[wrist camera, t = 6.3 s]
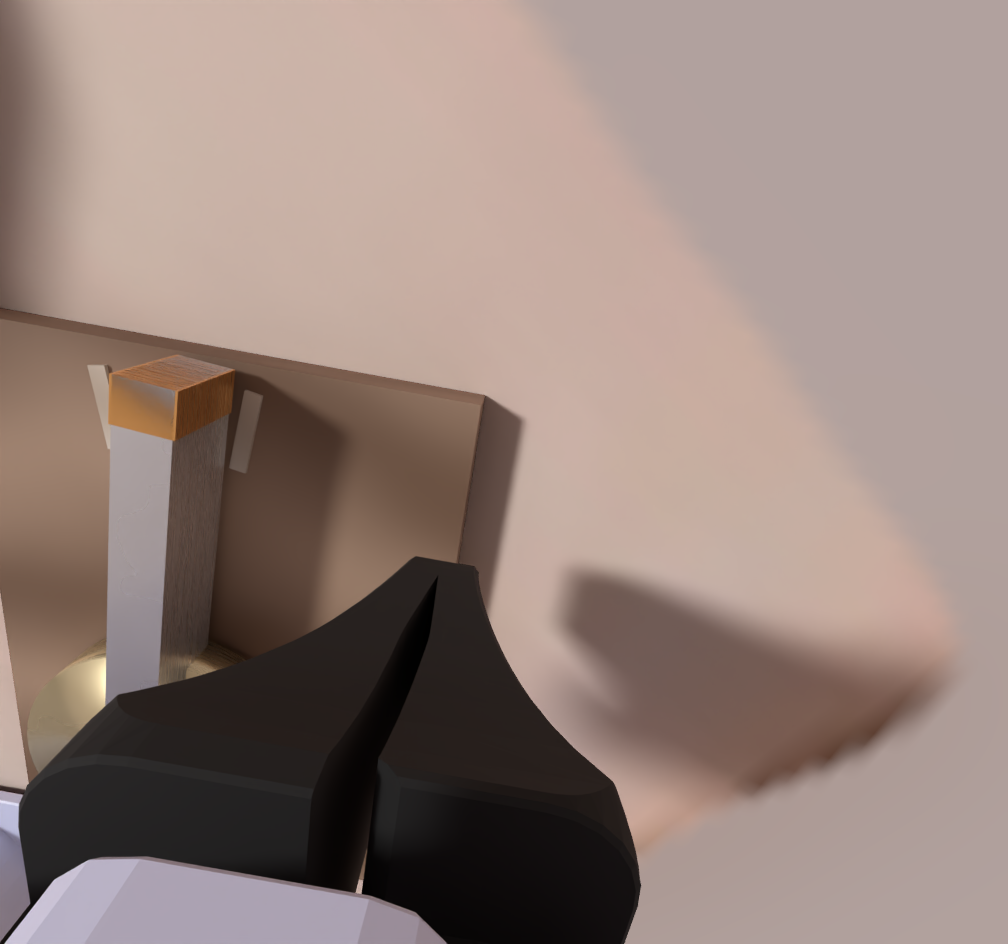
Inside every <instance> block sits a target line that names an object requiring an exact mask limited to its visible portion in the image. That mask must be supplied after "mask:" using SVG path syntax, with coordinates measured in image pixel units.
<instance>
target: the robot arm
mask: <svg viewBox="0 0 1008 944" xmlns="http://www.w3.org/2000/svg"><path fill="white" fill-rule="evenodd" d="M478 573H479V572H478V571H477V570H476V568H475V567H474V566H469V565H463V564H458V563H452V562H447V561H441V560H435V559H430V558H424V557H419V556H415V557H413V558H412V559H410V560H409V561H408V562H407V563H406V564H404V565H403V566H402V567H401V568H400V569H399V570H398V571H397V572H395V573H394V574H393V575H392V576H391V577H390V578H388V579H387V580H386V581H385V582H384V583H382V584H381V585H380V586H379V587H377V588H376V589H375V590H373V591H372V592H371V593H370V594H368V595H367V596H366V597H364V598H363V599H362V600H360V601H359V602H358V603H356V604H355V605H353V606H352V607H350V608H349V609H347V610H346V611H344V612H343V613H341V614H340V615H338V616H337V617H335V618H334V619H332V620H331V621H329V622H327V623H326V624H324V625H322V626H321V627H319V628H317V629H315V630H313V631H311V632H309V633H308V634H306V635H304V636H302V637H300V638H298V639H296V640H294V641H292V642H289V643H287V644H285V645H282V646H280V647H277V648H275V649H273V650H270V651H268V652H266V653H263V654H261V655H258V656H256V657H254V658H251V659H249V660H246V661H243V662H240V663H237V664H234V665H231V666H228V667H226V668H223V669H219V670H216V671H213V672H209V673H206V674H203V675H200V676H196V677H192V678H189V679H185V680H181V681H177V682H172V683H168V684H164V685H159V686H155V687H151V688H146V689H142V690H137V691H133V692H128V693H123V694H118V695H117V696H116V697H115V698H114V699H113V700H112V701H110V702H109V703H108V704H107V705H106V706H105V707H104V708H103V709H102V710H100V711H99V712H98V713H97V714H96V715H95V716H94V717H93V718H92V719H90V721H89V722H88V723H87V724H86V725H85V726H84V727H83V728H82V729H81V730H80V731H79V732H78V733H77V734H76V735H75V736H74V737H73V738H72V739H71V740H70V741H69V742H68V743H67V744H66V745H65V746H64V747H63V749H62V750H61V751H60V752H59V753H58V754H57V755H56V756H55V757H54V758H53V759H52V760H51V761H50V762H49V763H48V764H47V765H46V766H45V767H44V768H43V769H42V770H41V771H40V773H39V774H38V775H37V776H36V777H35V778H34V779H33V780H32V781H31V782H30V783H29V784H28V785H27V787H26V790H25V792H24V794H23V795H22V794H17V793H11V792H5V791H0V944H624V943H625V940H626V937H627V934H628V932H629V929H630V926H631V923H632V920H633V917H634V915H635V912H636V909H637V907H638V900H639V895H640V888H641V883H640V876H639V867H638V861H637V856H636V851H635V847H634V843H633V839H632V836H631V832H630V829H629V826H628V822H627V819H626V815H625V812H624V809H623V807H622V804H621V801H620V798H619V795H618V792H617V789H616V787H615V784H614V783H613V781H611V780H610V779H609V778H608V777H607V776H606V775H604V774H603V773H602V772H601V771H600V770H599V769H597V768H596V767H595V766H594V765H593V764H592V763H591V762H589V761H588V760H587V759H586V758H585V757H584V756H582V755H581V754H580V753H579V752H578V751H577V750H576V749H574V748H573V747H572V746H571V745H570V744H569V743H568V742H567V740H566V739H565V738H564V737H563V736H562V735H561V734H560V733H559V732H558V731H557V730H556V729H555V728H554V727H553V726H552V725H551V724H550V722H549V721H548V720H547V719H546V718H545V716H544V715H543V714H542V713H541V711H540V710H539V709H538V708H537V706H536V705H535V704H534V703H533V701H532V700H531V699H530V697H529V696H528V694H527V693H526V691H525V690H524V688H523V687H522V685H521V684H520V682H519V681H518V679H517V677H516V676H515V674H514V672H513V671H512V669H511V667H510V665H509V663H508V662H507V660H506V658H505V656H504V654H503V652H502V650H501V648H500V645H499V643H498V641H497V639H496V637H495V634H494V632H493V629H492V627H491V624H490V621H489V618H488V616H487V613H486V610H485V607H484V603H483V600H482V596H481V592H480V587H479V580H478ZM366 850H367V855H366V863H365V871H364V879H363V887H362V894H357V893H355V892H356V888H357V884H358V881H359V877H360V873H361V869H362V865H363V862H364V858H365V854H366Z"/></svg>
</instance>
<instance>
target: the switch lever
mask: <svg viewBox="0 0 1008 944" xmlns="http://www.w3.org/2000/svg"><path fill="white" fill-rule="evenodd" d="M234 378H235V370H234V369H230V368H226V367H223V366H219V365H215V364H211V363H207V362H204V361H200V360H196V359H192V358H188V357H185V356H181V355H174V356H170V357H167V358H163V359H159V360H156V361H152V362H149V363H145V364H142V365H138V366H134V367H131V368H127V369H124V370H120V371H116V372H113V373H109V404H108V424H110V425H111V436H110V488H109V539H108V590H107V638H104V639H102V640H100V641H98V642H96V643H95V644H93V645H92V646H90V647H89V648H87V649H86V650H85V651H84V652H83V653H81V654H80V655H79V656H78V657H77V658H76V659H75V660H73V661H72V662H71V663H70V664H69V665H68V666H66V667H65V668H64V669H63V670H62V671H61V672H60V673H58V674H57V675H56V676H55V677H54V678H53V679H52V680H51V681H50V682H49V683H47V684H46V685H45V686H44V687H43V689H42V690H41V691H40V693H39V694H38V696H37V697H36V699H35V701H34V703H33V705H32V708H31V710H30V714H29V719H28V727H27V737H28V745H29V750H30V754H31V757H32V761H33V763H34V765H35V767H36V770H37V772H38V774H39V773H40V771H41V770H42V769H43V768H44V767H45V766H46V765H47V764H48V763H49V762H50V761H51V760H52V759H53V758H54V757H55V756H56V755H57V754H58V753H59V752H60V751H61V750H62V749H63V747H64V746H65V745H66V744H67V743H68V742H69V741H70V740H71V739H72V738H73V737H74V736H75V735H76V734H77V733H78V732H79V731H80V730H81V729H82V728H83V727H84V726H85V725H86V724H87V723H88V722H89V721H90V719H92V718H93V717H94V716H95V715H96V714H97V713H98V712H99V711H100V710H102V709H103V708H104V707H105V706H106V705H107V704H108V703H109V702H110V701H112V700H113V699H114V698H115V697H116V696H117V695H118V694H123V693H128V692H133V691H137V690H142V689H146V688H151V687H155V686H159V685H164V684H168V683H172V682H177V681H181V680H185V679H189V678H192V677H196V676H200V675H203V674H206V673H209V672H213V671H216V670H219V669H223V668H226V667H228V666H231V665H234V664H237V663H240V662H243V661H246V659H245V658H243V657H242V656H240V655H239V654H237V653H236V652H234V651H232V650H230V649H228V648H226V647H225V646H223V645H220V644H218V643H216V642H213V641H211V640H208V634H209V624H210V613H211V602H212V591H213V580H214V570H215V559H216V548H217V537H218V526H219V516H220V505H221V494H222V483H223V472H224V462H225V451H226V440H227V429H228V418H229V413H231V410H232V399H233V389H234Z"/></svg>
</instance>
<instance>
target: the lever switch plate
mask: <svg viewBox="0 0 1008 944" xmlns="http://www.w3.org/2000/svg"><path fill="white" fill-rule="evenodd" d="M174 355H181V356H185V357H188V358H192V359H196V360H200V361H204V362H207V363H211V364H215V365H219V366H223V367H226V368H230V369H234V370H235V378H234V389H233V399H232V410H231V413H229V418H228V429H227V440H226V451H225V462H224V472H223V483H222V494H221V505H220V516H219V526H218V537H217V548H216V559H215V570H214V580H213V591H212V602H211V613H210V624H209V634H208V640H211V641H213V642H216V643H218V644H220V645H223V646H225V647H226V648H228V649H230V650H232V651H234V652H236V653H237V654H239V655H240V656H242V657H243V658H245V659H246V660H249V659H251V658H254V657H256V656H258V655H261V654H263V653H266V652H268V651H270V650H273V649H275V648H277V647H280V646H282V645H285V644H287V643H289V642H292V641H294V640H296V639H298V638H300V637H302V636H304V635H306V634H308V633H309V632H311V631H313V630H315V629H317V628H319V627H321V626H322V625H324V624H326V623H327V622H329V621H331V620H332V619H334V618H335V617H337V616H338V615H340V614H341V613H343V612H344V611H346V610H347V609H349V608H350V607H352V606H353V605H355V604H356V603H358V602H359V601H360V600H362V599H363V598H364V597H366V596H367V595H368V594H370V593H371V592H372V591H373V590H375V589H376V588H377V587H379V586H380V585H381V584H382V583H384V582H385V581H386V580H387V579H388V578H390V577H391V576H392V575H393V574H394V573H395V572H397V571H398V570H399V569H400V568H401V567H402V566H403V565H404V564H406V563H407V562H408V561H409V560H410V559H412V558H413V557H415V556H419V557H424V558H430V559H435V560H441V561H447V562H452V563H458V562H459V556H460V550H461V543H462V537H463V531H464V525H465V518H466V512H467V506H468V500H469V493H470V487H471V481H472V475H473V468H474V462H475V456H476V450H477V444H478V437H479V431H480V425H481V419H482V412H483V406H484V400H485V395H480V394H475V393H469V392H464V391H458V390H452V389H447V388H441V387H436V386H430V385H425V384H419V383H414V382H408V381H402V380H397V379H391V378H386V377H380V376H375V375H369V374H364V373H358V372H352V371H347V370H341V369H336V368H330V367H325V366H319V365H314V364H308V363H302V362H297V361H291V360H286V359H280V358H275V357H269V356H264V355H258V354H252V353H247V352H241V351H236V350H230V349H225V348H219V347H214V346H208V345H203V344H197V343H191V342H186V341H180V340H175V339H169V338H164V337H158V336H153V335H147V334H141V333H136V332H130V331H125V330H119V329H114V328H108V327H103V326H97V325H91V324H86V323H80V322H75V321H69V320H64V319H58V318H53V317H47V316H41V315H36V314H30V313H25V312H19V311H14V310H8V309H3V308H0V593H1V599H2V606H3V613H4V620H5V626H6V633H7V640H8V646H9V653H10V660H11V666H12V673H13V680H14V686H15V693H16V700H17V706H18V713H19V720H20V727H21V733H22V740H23V747H24V753H25V760H26V767H27V773H28V780H29V783H30V782H31V781H32V780H33V779H34V778H35V777H36V776H37V775H38V772H37V770H36V767H35V765H34V763H33V761H32V757H31V754H30V750H29V745H28V737H27V727H28V719H29V714H30V710H31V708H32V705H33V703H34V701H35V699H36V697H37V696H38V694H39V693H40V691H41V690H42V689H43V687H44V686H45V685H46V684H47V683H49V682H50V681H51V680H52V679H53V678H54V677H55V676H56V675H57V674H58V673H60V672H61V671H62V670H63V669H64V668H65V667H66V666H68V665H69V664H70V663H71V662H72V661H73V660H75V659H76V658H77V657H78V656H79V655H80V654H81V653H83V652H84V651H85V650H86V649H87V648H89V647H90V646H92V645H93V644H95V643H96V642H98V641H100V640H102V639H104V638H107V590H108V539H109V488H110V436H111V425H110V424H108V404H109V373H113V372H116V371H120V370H124V369H127V368H131V367H134V366H138V365H142V364H145V363H149V362H152V361H156V360H159V359H163V358H167V357H170V356H174ZM366 855H367V850H366V854H365V858H364V862H363V865H362V869H361V873H360V877H359V879H360V880H363V879H364V871H365V863H366Z"/></svg>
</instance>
